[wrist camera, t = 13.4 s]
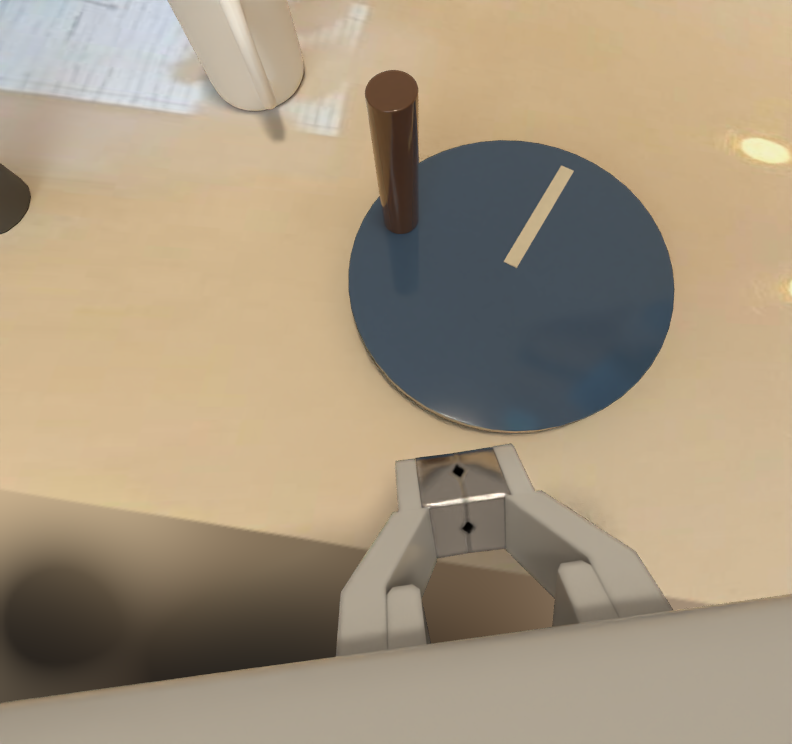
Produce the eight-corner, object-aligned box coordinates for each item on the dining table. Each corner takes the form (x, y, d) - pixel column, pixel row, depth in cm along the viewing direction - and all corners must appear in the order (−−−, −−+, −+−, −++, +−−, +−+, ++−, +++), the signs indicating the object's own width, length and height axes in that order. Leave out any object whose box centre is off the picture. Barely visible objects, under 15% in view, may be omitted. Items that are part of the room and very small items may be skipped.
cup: (290, 30, 37) (244, -131, 27) (331, 126, 34) (295, -17, 24) (205, 59, 37) (127, -92, 27) (239, 159, 34) (164, 28, 24)
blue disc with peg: (581, 500, 24) (705, 518, 14) (291, 330, 28) (214, 243, 18) (714, 225, 29) (889, 75, 18) (445, 110, 32) (457, -67, 22)
